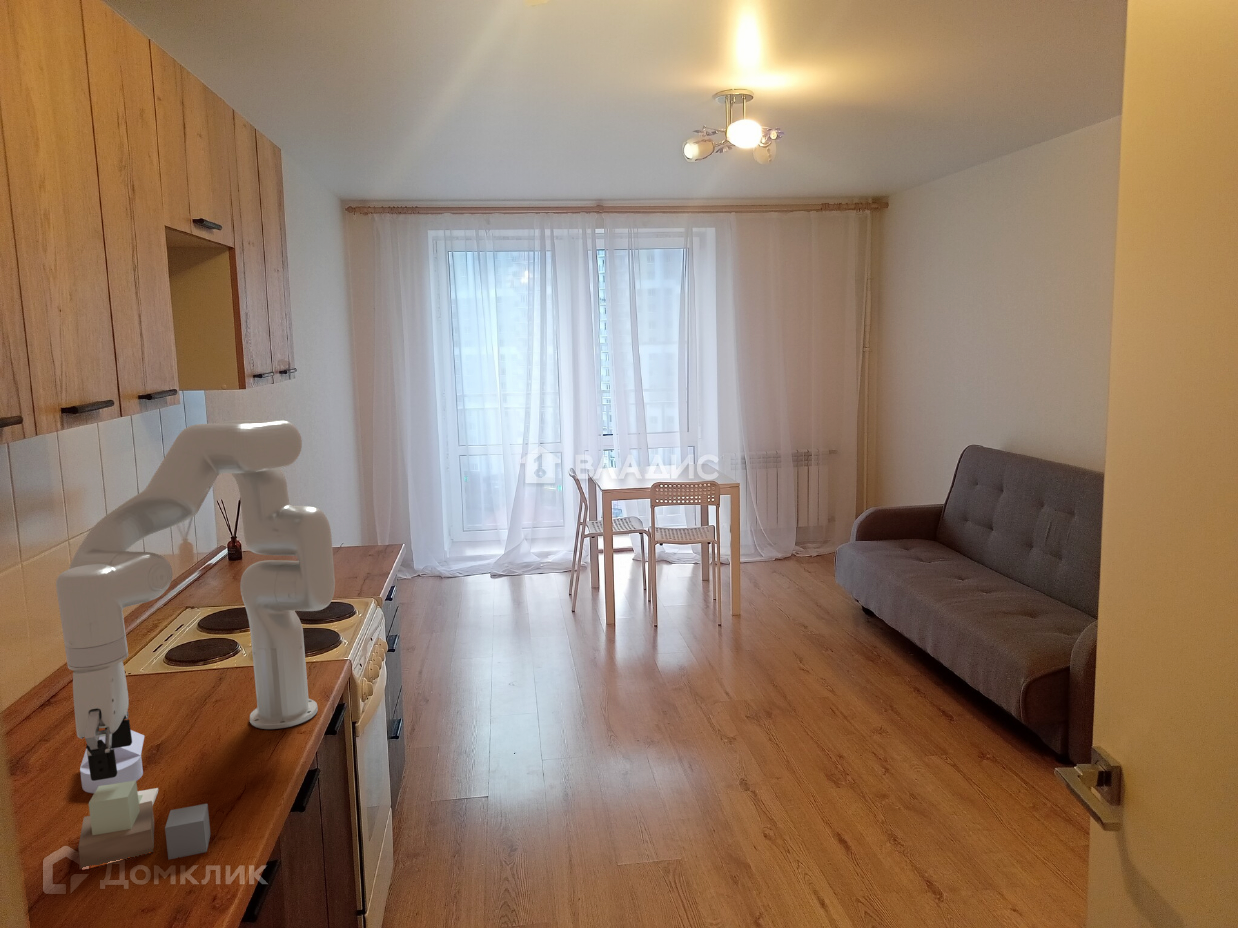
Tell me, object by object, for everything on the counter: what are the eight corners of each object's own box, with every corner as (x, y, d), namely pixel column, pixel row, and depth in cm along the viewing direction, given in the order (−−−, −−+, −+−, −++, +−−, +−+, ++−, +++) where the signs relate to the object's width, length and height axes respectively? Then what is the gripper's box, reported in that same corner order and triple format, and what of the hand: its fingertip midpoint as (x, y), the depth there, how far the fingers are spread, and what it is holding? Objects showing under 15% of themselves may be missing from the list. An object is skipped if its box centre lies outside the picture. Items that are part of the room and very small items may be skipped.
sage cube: (102, 817, 128) (98, 785, 128) (139, 811, 130) (136, 780, 129) (92, 835, 124) (88, 802, 123) (131, 828, 125) (127, 796, 124)
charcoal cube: (173, 841, 128) (170, 810, 127) (210, 834, 130) (207, 803, 129) (168, 859, 123) (164, 827, 123) (206, 852, 125) (203, 820, 124)
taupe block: (87, 841, 129) (83, 816, 129) (154, 824, 133) (151, 800, 133) (81, 873, 121) (78, 847, 121) (153, 854, 125) (150, 828, 125)
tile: (110, 799, 140) (110, 794, 140) (158, 791, 143) (157, 786, 143) (100, 821, 134) (99, 816, 134) (150, 812, 136) (149, 807, 136)
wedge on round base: (89, 764, 153) (78, 798, 141) (84, 728, 152) (73, 759, 140) (146, 752, 157) (140, 785, 145) (142, 717, 156) (136, 747, 144)
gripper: (83, 634, 130) (98, 739, 133) (48, 678, 114) (66, 797, 117) (139, 627, 132) (152, 731, 135) (112, 669, 116) (128, 786, 119)
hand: (112, 761), depth 126 cm, fingers open, 9 cm apart
